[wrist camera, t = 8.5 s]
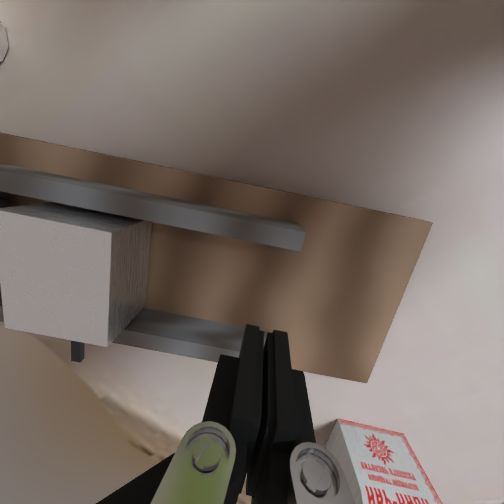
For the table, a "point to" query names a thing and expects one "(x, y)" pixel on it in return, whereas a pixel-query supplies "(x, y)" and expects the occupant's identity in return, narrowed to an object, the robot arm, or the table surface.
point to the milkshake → (3, 42)
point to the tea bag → (379, 465)
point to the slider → (72, 272)
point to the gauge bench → (236, 257)
